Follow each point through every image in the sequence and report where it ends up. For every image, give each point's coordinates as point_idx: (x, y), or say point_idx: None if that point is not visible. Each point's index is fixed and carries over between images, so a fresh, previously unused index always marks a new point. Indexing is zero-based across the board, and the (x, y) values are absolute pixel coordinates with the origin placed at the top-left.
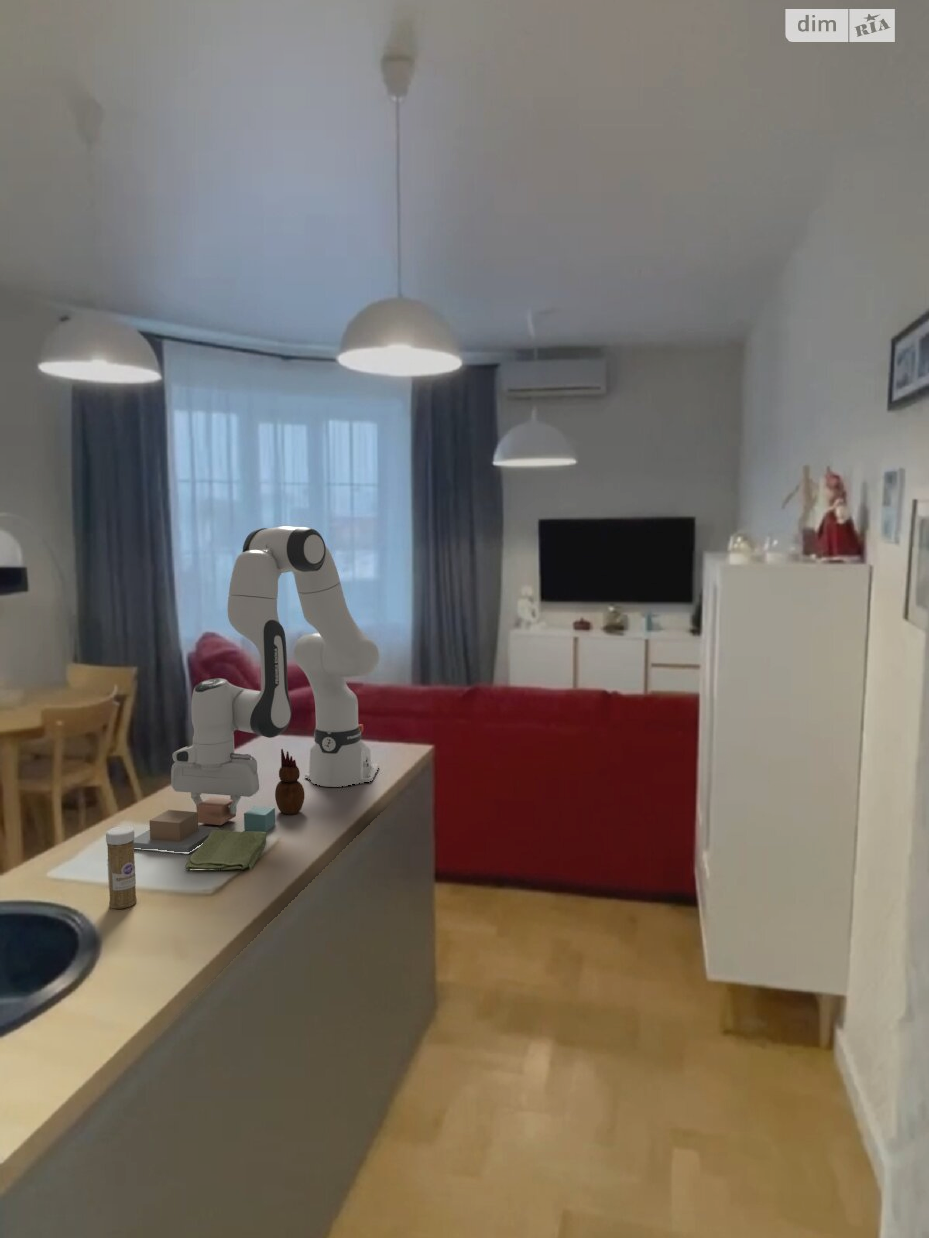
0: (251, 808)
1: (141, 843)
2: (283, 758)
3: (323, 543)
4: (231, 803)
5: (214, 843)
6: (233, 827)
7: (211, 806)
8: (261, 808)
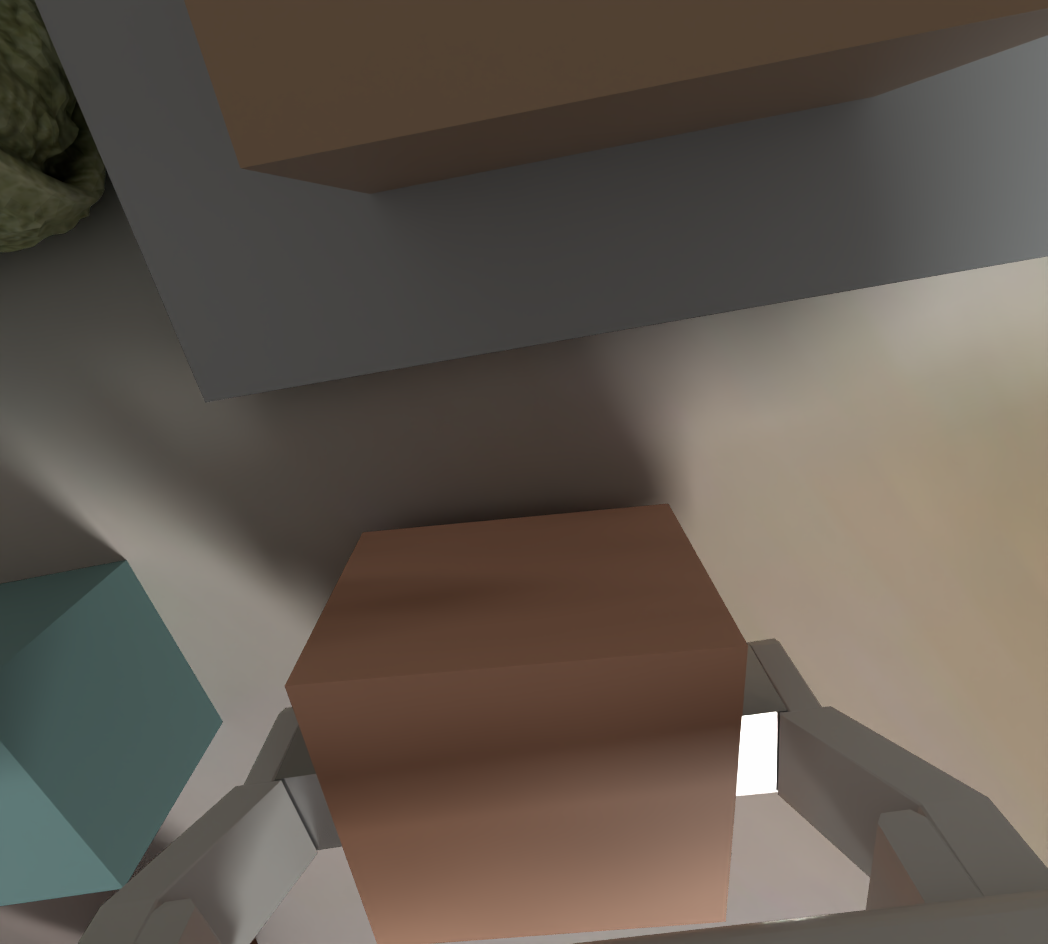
0: (80, 840)
1: None
2: None
3: None
4: (222, 834)
5: None
6: (293, 584)
7: (459, 679)
8: None
